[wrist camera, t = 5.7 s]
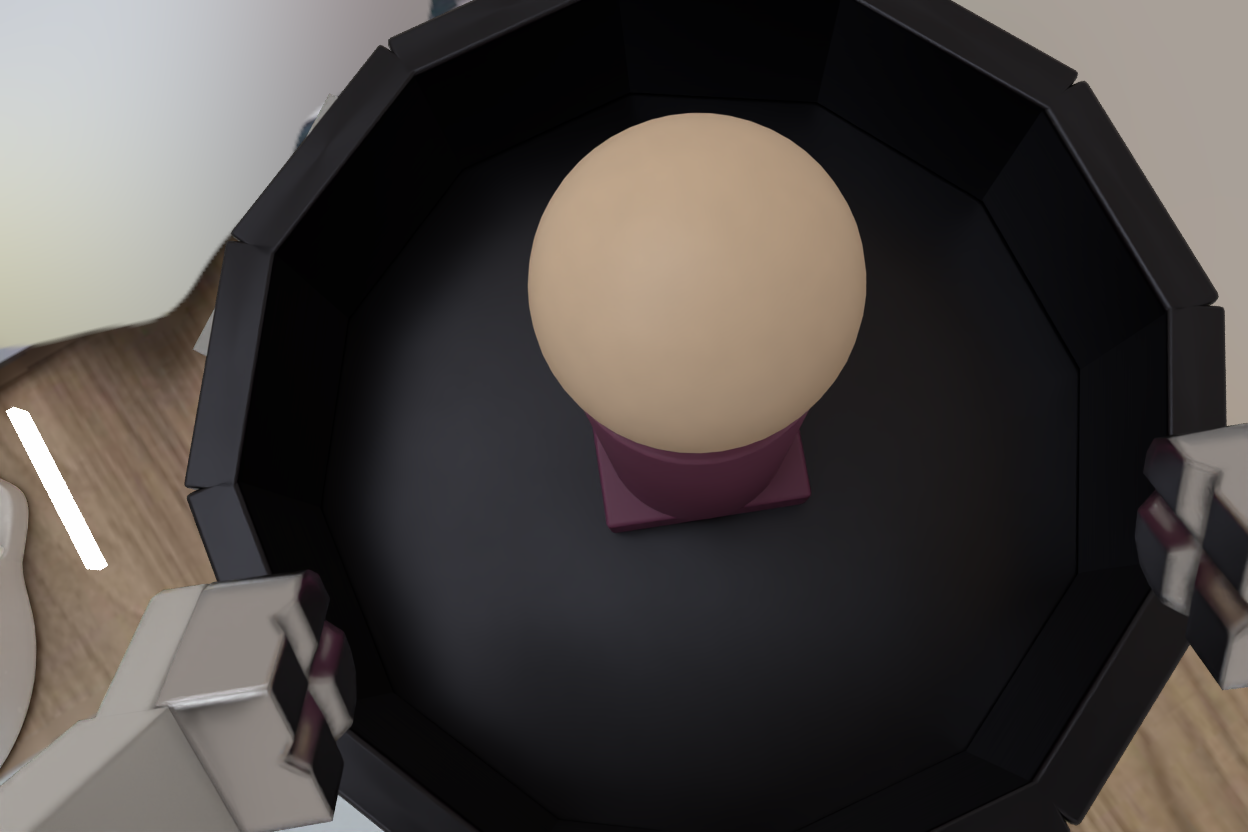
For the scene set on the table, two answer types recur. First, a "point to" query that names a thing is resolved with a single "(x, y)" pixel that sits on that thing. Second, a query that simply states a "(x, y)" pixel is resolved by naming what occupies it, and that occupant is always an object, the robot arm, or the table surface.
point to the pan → (735, 544)
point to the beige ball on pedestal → (697, 312)
